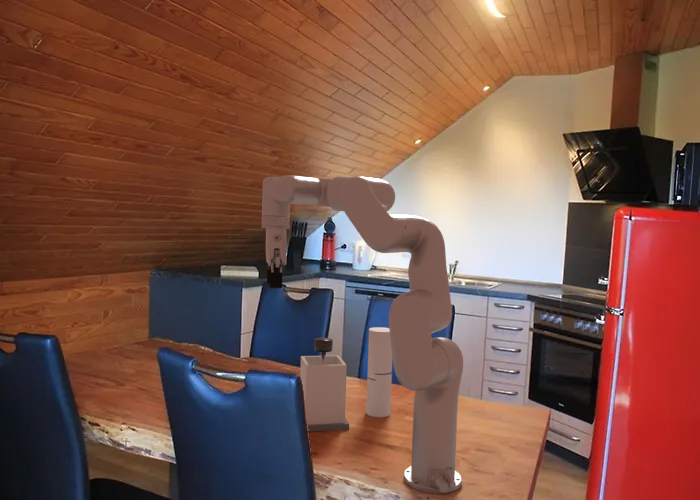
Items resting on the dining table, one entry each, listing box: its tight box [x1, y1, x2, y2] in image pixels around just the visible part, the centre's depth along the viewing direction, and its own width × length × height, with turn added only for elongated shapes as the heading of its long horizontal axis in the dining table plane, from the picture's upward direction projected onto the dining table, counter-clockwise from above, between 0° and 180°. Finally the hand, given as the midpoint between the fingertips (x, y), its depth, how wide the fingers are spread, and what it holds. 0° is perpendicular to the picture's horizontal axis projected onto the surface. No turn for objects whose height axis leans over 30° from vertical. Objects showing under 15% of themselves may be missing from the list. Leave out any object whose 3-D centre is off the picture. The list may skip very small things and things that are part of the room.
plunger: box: [314, 337, 334, 365], centre depth 157 cm, size 9×9×22 cm
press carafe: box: [299, 354, 350, 432], centre depth 158 cm, size 13×13×18 cm
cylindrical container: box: [365, 326, 393, 418], centre depth 166 cm, size 7×7×25 cm
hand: (274, 285), depth 154 cm, fingers open, 9 cm apart
